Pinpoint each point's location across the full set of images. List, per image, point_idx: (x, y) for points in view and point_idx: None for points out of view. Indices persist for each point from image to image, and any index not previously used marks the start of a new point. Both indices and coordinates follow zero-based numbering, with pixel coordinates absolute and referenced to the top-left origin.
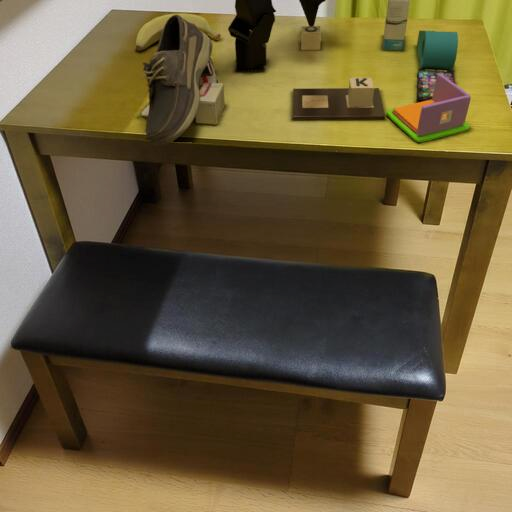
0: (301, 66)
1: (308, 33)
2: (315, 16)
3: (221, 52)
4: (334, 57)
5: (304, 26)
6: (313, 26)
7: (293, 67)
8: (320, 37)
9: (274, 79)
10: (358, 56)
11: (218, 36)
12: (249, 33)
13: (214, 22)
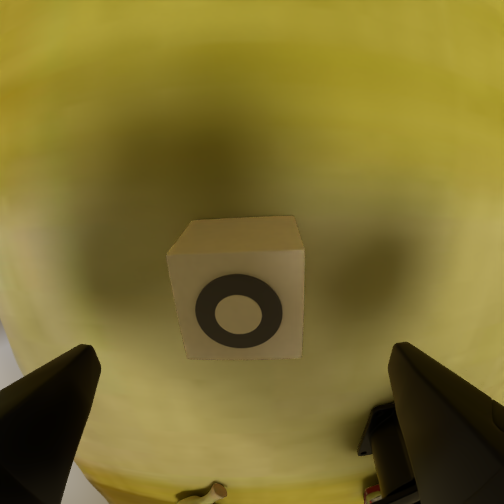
0: (452, 291)
1: (302, 324)
2: (466, 387)
3: (297, 477)
4: (390, 141)
5: (190, 346)
6: (182, 298)
7: (451, 317)
8: (299, 238)
9: (496, 353)
10: (373, 22)
11: (219, 491)
12: (403, 502)
13: (116, 474)
